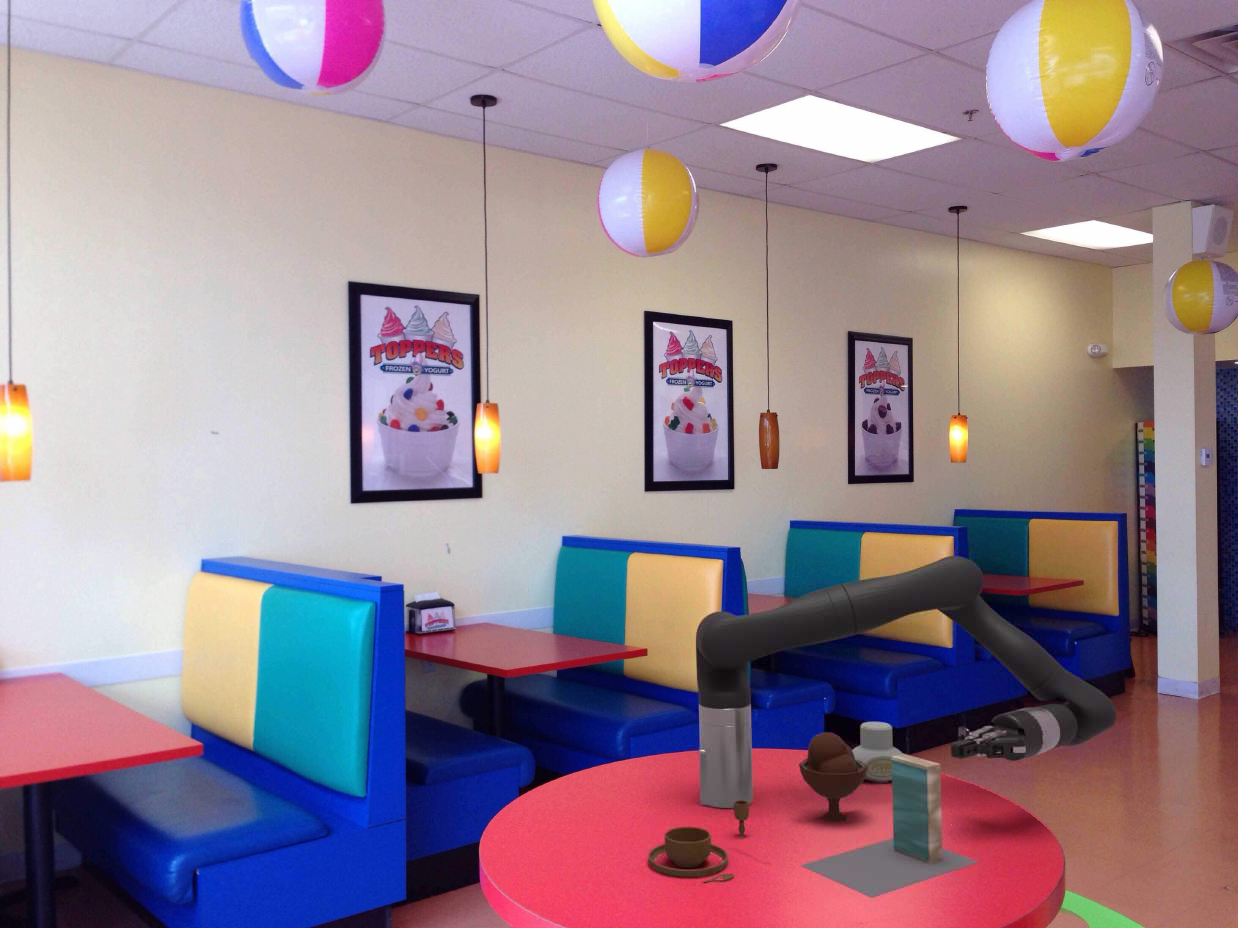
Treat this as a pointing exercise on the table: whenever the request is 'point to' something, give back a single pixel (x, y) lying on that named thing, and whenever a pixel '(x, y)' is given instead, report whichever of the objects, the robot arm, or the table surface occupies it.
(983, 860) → the table surface
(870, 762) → the air freshener
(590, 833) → the table surface
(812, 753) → the ice cream bowl
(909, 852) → the tile
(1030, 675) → the robot arm
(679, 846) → the place setting
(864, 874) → the mat
